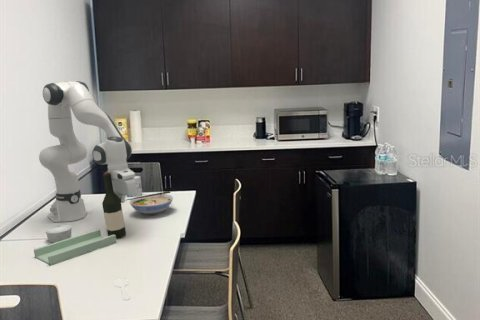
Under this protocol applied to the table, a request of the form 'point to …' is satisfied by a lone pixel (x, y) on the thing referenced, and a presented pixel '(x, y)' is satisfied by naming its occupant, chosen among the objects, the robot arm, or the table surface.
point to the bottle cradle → (73, 247)
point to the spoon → (122, 287)
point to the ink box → (137, 187)
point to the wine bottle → (113, 210)
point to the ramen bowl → (151, 203)
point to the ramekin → (58, 233)
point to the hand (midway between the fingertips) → (121, 202)
